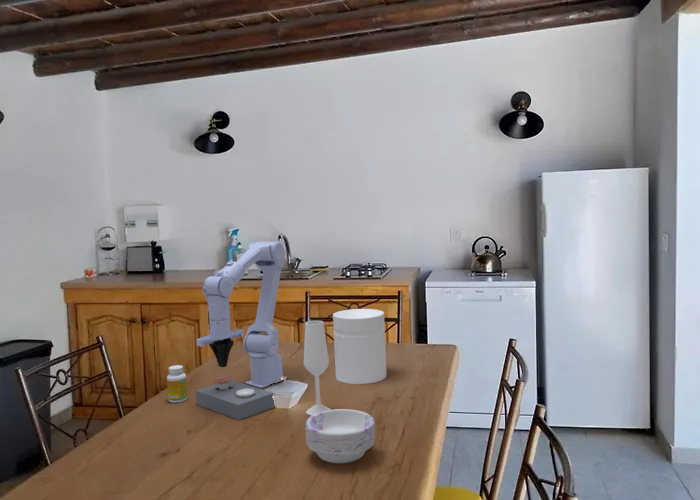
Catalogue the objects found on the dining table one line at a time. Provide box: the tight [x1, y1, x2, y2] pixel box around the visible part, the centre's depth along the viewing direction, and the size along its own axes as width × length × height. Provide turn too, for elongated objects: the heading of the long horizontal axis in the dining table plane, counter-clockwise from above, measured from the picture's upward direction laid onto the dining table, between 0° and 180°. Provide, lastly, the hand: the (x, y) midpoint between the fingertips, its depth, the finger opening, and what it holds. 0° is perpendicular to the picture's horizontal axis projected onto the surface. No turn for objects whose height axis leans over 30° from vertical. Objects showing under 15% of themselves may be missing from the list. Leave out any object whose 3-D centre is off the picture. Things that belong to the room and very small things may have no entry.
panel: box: [195, 380, 276, 421], centre depth 171 cm, size 12×20×4 cm, turn 47°
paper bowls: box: [305, 408, 376, 464], centre depth 135 cm, size 15×15×8 cm
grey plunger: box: [236, 389, 254, 398], centre depth 167 cm, size 5×5×4 cm
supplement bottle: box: [166, 364, 188, 404], centre depth 178 cm, size 5×5×10 cm
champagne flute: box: [303, 320, 332, 416], centre depth 163 cm, size 7×7×24 cm
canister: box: [332, 308, 387, 385], centre depth 193 cm, size 16×16×20 cm
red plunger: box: [213, 375, 233, 391], centre depth 174 cm, size 5×5×4 cm
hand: (222, 366), depth 173 cm, fingers closed
